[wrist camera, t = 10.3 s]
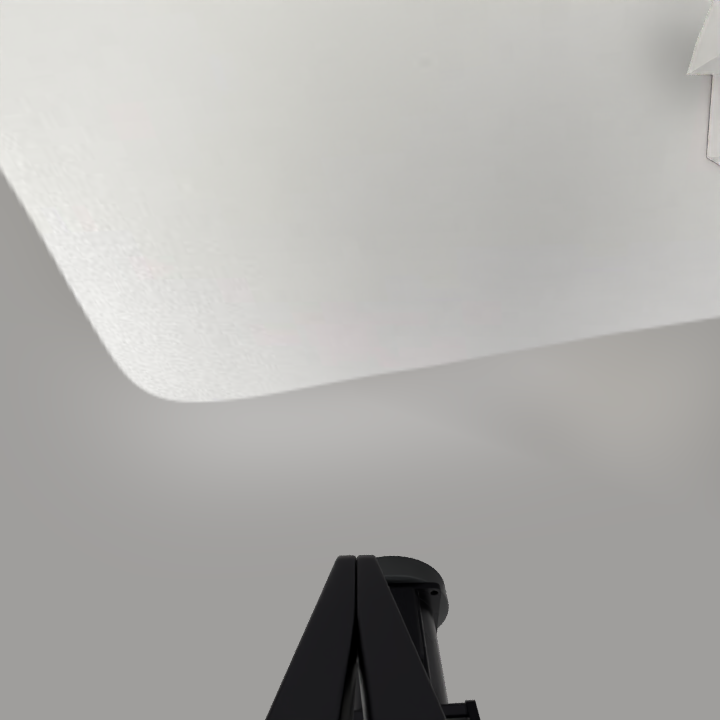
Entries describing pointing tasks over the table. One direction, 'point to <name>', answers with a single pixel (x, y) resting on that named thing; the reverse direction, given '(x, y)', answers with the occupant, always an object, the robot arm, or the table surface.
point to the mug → (710, 73)
